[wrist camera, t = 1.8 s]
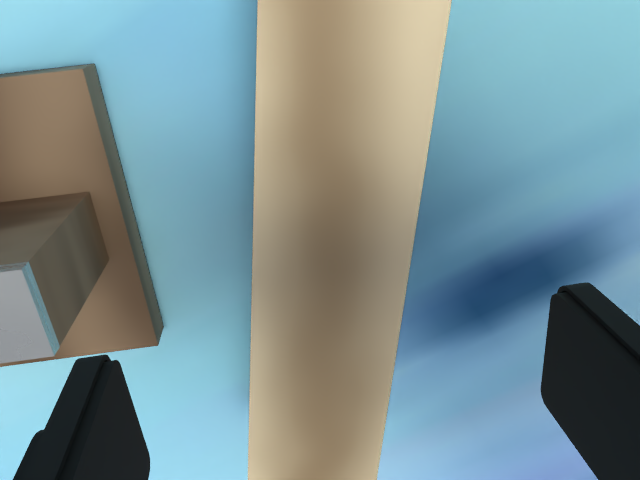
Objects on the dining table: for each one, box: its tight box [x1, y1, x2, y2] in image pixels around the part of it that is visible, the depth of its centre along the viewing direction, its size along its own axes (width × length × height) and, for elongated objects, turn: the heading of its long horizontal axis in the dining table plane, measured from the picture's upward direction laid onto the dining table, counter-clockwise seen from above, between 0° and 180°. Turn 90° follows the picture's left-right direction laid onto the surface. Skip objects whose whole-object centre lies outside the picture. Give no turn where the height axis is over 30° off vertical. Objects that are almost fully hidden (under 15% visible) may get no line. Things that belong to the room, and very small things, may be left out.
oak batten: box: [248, 0, 452, 480], centre depth 21 cm, size 6×24×6 cm, turn 176°
